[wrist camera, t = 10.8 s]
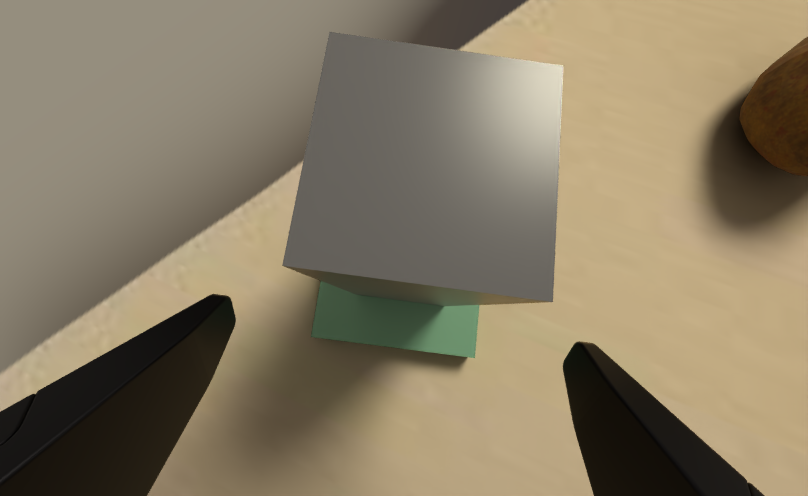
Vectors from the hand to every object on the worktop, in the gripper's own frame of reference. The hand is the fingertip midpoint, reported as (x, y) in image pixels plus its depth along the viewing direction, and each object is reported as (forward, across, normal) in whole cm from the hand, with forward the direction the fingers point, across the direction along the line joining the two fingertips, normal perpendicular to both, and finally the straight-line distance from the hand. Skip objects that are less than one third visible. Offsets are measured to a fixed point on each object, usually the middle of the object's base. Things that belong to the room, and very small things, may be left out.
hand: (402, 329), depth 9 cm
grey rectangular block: (+9, 0, +4) cm, 10 cm away
